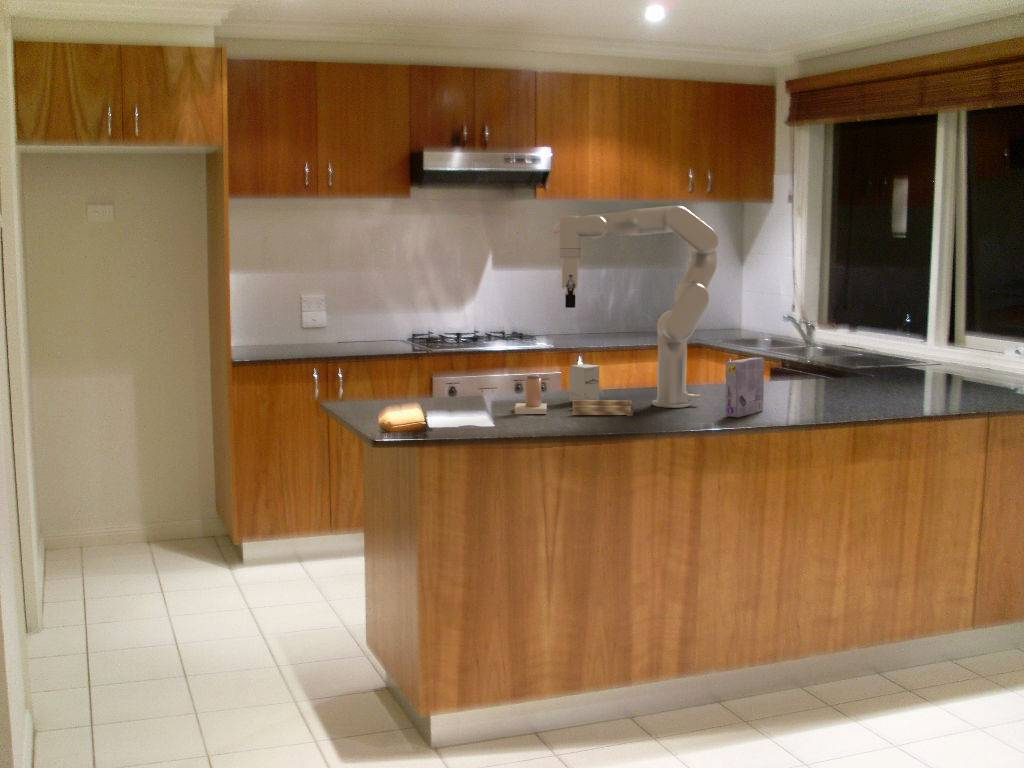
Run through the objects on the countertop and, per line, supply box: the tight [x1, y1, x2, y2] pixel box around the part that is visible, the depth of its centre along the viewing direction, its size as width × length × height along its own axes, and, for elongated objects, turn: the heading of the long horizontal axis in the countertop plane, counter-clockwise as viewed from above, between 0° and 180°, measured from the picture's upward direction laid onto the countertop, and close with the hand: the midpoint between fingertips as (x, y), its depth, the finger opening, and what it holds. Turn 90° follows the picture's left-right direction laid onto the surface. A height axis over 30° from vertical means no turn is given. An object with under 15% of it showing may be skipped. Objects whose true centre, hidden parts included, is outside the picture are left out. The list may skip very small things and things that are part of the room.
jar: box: [525, 374, 542, 407], centre depth 353 cm, size 5×5×10 cm
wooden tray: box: [572, 399, 634, 417], centre depth 352 cm, size 19×12×3 cm, turn 87°
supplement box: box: [569, 363, 600, 403], centre depth 372 cm, size 7×7×13 cm
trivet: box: [514, 402, 548, 415], centre depth 354 cm, size 10×10×2 cm
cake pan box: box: [725, 357, 765, 419], centre depth 349 cm, size 19×5×18 cm, turn 141°
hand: (570, 306), depth 359 cm, fingers open, 9 cm apart
